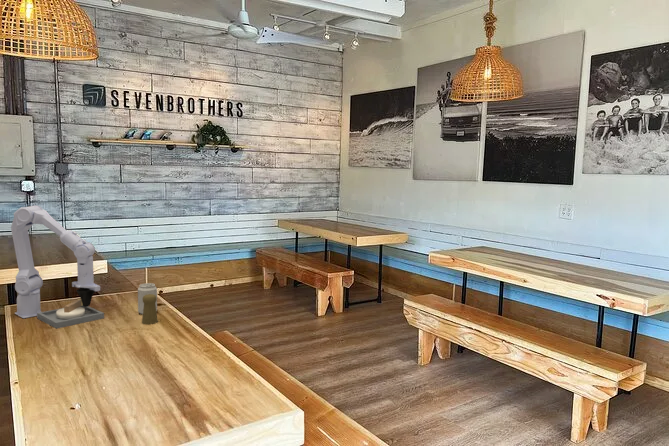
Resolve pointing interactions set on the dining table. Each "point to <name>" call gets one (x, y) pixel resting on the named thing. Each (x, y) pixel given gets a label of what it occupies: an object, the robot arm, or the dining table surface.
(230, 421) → the dining table surface
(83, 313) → the dial
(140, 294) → the can
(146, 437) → the dining table surface
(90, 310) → the slate tray
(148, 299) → the cork
